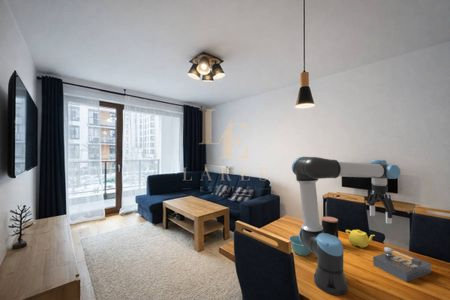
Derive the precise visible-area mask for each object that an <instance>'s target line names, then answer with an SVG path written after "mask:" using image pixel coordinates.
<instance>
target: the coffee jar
mask: <svg viewBox="0 0 450 300" xmlns="http://www.w3.org/2000/svg"><path fill="white" fill-rule="evenodd" d="M338 222H339V219H338V218H336V217H333V216H321V226H322V227H323V233H327V234H330V235H333V236H336V237H337V238H339V223H338Z"/></svg>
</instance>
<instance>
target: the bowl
mask: <svg viewBox="0 0 450 300" xmlns="http://www.w3.org/2000/svg"><path fill="white" fill-rule="evenodd" d="M288 240H289V242H290V241H291V244H290V246H291V245H292V247H291V250H292V251H293V252H294V253H295V254H296V255H298V256H306V257H307V256H308V255H310V254H311V253H312V252H311V251H310V250H309V249H308V248H306V247H305V246H304V245H303V244H302V243H301V241H300V239H299V235H291V236H289V238H288Z"/></svg>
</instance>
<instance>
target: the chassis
mask: <svg viewBox="0 0 450 300" xmlns="http://www.w3.org/2000/svg"><path fill="white" fill-rule="evenodd" d="M395 251H397V252H399V253H402V254H404V255H407V256H409V257H412V258H416V259H418V260H421V262H422V265H420V266H417V265H415V264H412V263H411V262H409V261H407V260H404V259H402V258H399V257H397V256H395V255H392V254H387V253H385V252H384V253H382V254H378V255H375V256H373V257H372V258H373V259H372V261H373V262H372V263H373V266H374V267H376V268H378V269H379V270H382V271H383V272H386V273H388V274H389V275H392V276H394V277H396V278H398V279H400V280H402V281H404V282H406V283H407V282H410V281H414V280H416V279H418V278H421V277H423V276H426V275H429V274H432V263H430V262H427V261H426V260H422V259H420V258H418V257H415V256H413V255H410V254H407V253H406V252H403V251H400V250H398V249H395Z"/></svg>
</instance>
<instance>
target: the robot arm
mask: <svg viewBox="0 0 450 300" xmlns="http://www.w3.org/2000/svg"><path fill="white" fill-rule="evenodd" d="M291 170H292V171H291V172H292V173H293V174H294V175H295V178H296V179H295V180H296V181H297V183H299V189H300V200H301V211H302V220H303V221H302V222H303V223H302V224H301V227H300V230H299V231H298V236H299V239H300V241H301V243H302V244H303V245H304V246H305V247H306V248H308V249H309V250H310V251H311V252H310V253H312V254H314V255H315V256H316V258H317V261H316V262H317V266H316V269H315V272H314V275H313V282H314V284H315V286H316V287H317V288H319V289H320V290H321V291H323V292H325V293H328V294H330V295H335V296H343V295H347V293H348V292H349V284H348V281H347V279H346V275H345V273H344V245H343V242H342V241H341V239H340V238H339V237H338V238H337V237H336V236H333V235H330V234H327V233H323V227H322V224H320V223H321V222H320V217H319V205H318V195H317V193H318V192H317V184H316V183H317V181H318V180H321V179H337V178H339V177H347V178H352V177H353V178H371V190H370V191H369V196H368V198H367V202H366V204H368V206H369V216H370V217H375V216H376V206H375V204H376V203H377V202H378V201H380V202H381V203H382V206H383V207H384V208H385V223H386V224H393V213H396V209H395V206H394V204H393V200H392V199H391V198H392V197H391V194H386V193H388V179H390V180H391V179H392V180H393V179H398V178H399V177H400V175H401V169H400V167H399V166H398V165H397V164H391V163H387V160H385V159H372V160H371V162H348V161H347V162H345V161H338V160H336V159H330V158H329V159H328V158H324V157H319V156H301V157H300V156H299V157H297V158H296V159H295V160H294V161H292V164H291Z"/></svg>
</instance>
